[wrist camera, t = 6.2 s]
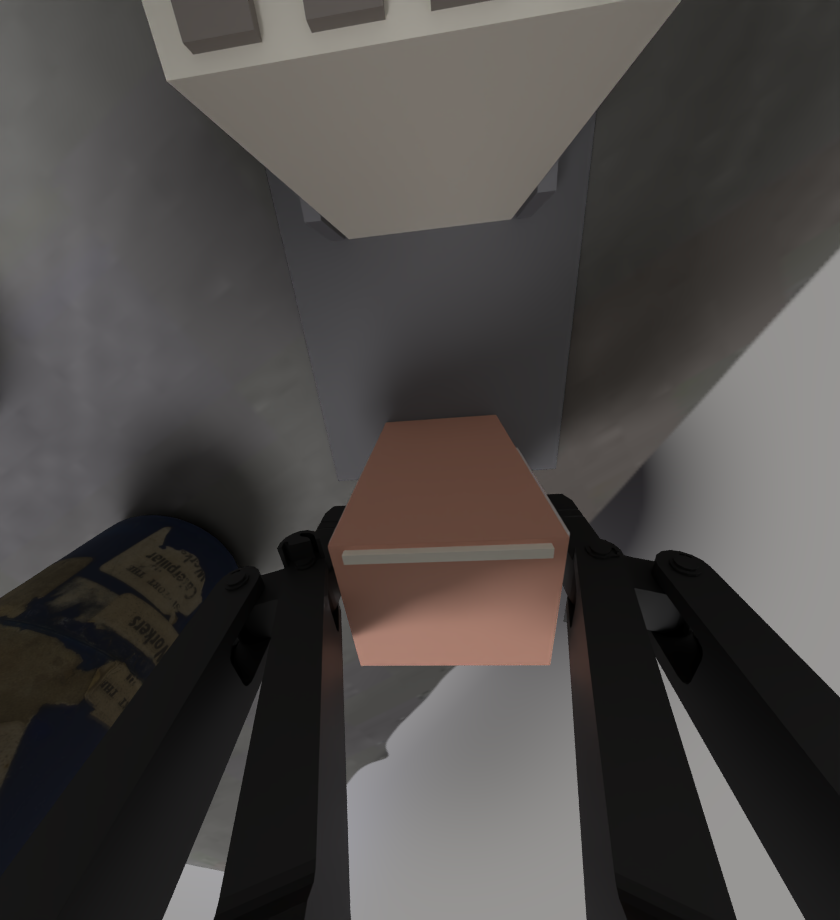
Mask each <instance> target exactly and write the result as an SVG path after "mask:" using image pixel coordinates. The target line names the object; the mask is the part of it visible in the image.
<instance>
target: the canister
mask: <svg viewBox="0 0 840 920" xmlns="http://www.w3.org/2000/svg"><path fill="white" fill-rule="evenodd" d="M236 569H238V567H237V564H236V562H235V560H234V558H233V557H232V555H231V554H230V552H229V551H228V550H227V549H226V548H225V547H224V545H223V544H222V543H221V542H220V541H218V540H217V539H216V538H215V537H214V536H212V535H211V534H209V533H208V532H206V531H205V530H203V529H201V528H200V527H198V526H196V525H193V524H191V523H189V522H186V521H183V520H180V519H177V518H173V517H168V516H159V515H145V516H137V517H133V518H129V519H126V520H123V521H121V522H119V523H117V524H115V525H113V526H111V527H110V528H108V529H106V530H105V531H103V532H102V533H100V534H99V535H97V536H96V537H94V538H93V539H91V540H90V541H88V542H86V543H85V544H83V545H82V546H80V547H79V548H77V549H76V550H74V551H73V552H71V553H70V554H68V555H67V556H65V557H63V558H62V559H60V560H59V561H57V562H55V563H54V564H52V565H50V566H49V567H47V568H46V569H44V570H43V571H41V572H40V573H38V574H37V575H35V576H34V577H32V578H31V579H29V580H28V581H26V582H25V583H23V584H21V585H20V586H18V587H17V588H15V589H13V590H12V591H10V592H9V593H7V594H6V595H4V596H3V597H1V598H0V877H1V875H2V874H3V873H4V871H5V870H6V869H7V867H8V866H9V864H10V863H11V862H12V860H13V859H14V858H15V856H16V855H17V854H18V852H19V851H20V850H21V848H22V847H23V846H24V844H25V843H26V841H27V840H28V839H29V837H30V836H31V835H32V833H33V832H34V831H35V829H36V828H37V827H38V825H39V824H40V822H41V821H42V820H43V818H44V817H45V816H46V814H47V813H48V812H49V810H50V809H51V808H52V806H53V805H54V804H55V802H56V801H57V799H58V798H59V797H60V795H61V794H62V793H63V791H64V790H65V789H66V787H67V786H68V785H69V783H70V782H71V780H72V779H73V778H74V776H75V775H76V774H77V772H78V771H79V770H80V768H81V767H82V766H83V764H84V763H85V761H86V760H87V759H88V757H89V756H90V755H91V753H92V752H93V751H94V749H95V748H96V747H97V745H98V744H99V743H100V741H101V740H102V738H103V737H104V736H105V734H106V733H107V732H108V730H109V729H110V728H111V726H112V725H113V724H114V722H115V721H116V719H117V718H118V717H119V715H120V714H121V713H122V711H123V710H124V709H125V707H126V706H127V705H128V703H129V702H130V701H131V699H132V698H133V696H134V695H135V694H136V692H137V691H138V690H139V688H140V687H141V686H142V684H143V683H144V682H145V680H146V679H147V677H148V676H149V675H150V673H151V672H152V671H153V669H154V668H155V667H156V665H157V664H158V663H159V661H160V660H161V658H162V657H163V656H164V654H165V653H166V652H167V650H168V649H169V648H170V646H171V645H172V644H173V642H174V641H175V640H176V638H177V637H178V635H179V634H180V633H181V631H182V630H183V629H184V627H185V626H186V625H187V623H188V622H189V621H190V619H191V618H192V616H193V615H194V614H195V612H196V611H197V610H198V608H199V607H200V606H201V604H202V603H203V602H204V600H205V599H206V598H207V596H208V595H209V593H210V592H211V591H212V589H213V588H214V587H215V585H216V584H217V583H218V582H219V581H220V580H221V579H222V578H223V577H224V576H225V575H227V574H228V573H230V572H231V571H234V570H236Z"/></svg>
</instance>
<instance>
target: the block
mask: <svg viewBox="0 0 840 920" xmlns="http://www.w3.org/2000/svg"><path fill="white" fill-rule="evenodd" d="M568 544H569V536H568V534H567V533H566V531H565V529H564V527H563V526H562V524H561V522H560V521H559V519H558V517H557V516H556V514H555V512H554V511H553V509H552V507H551V506H550V504H549V502H548V501H547V499H546V497H545V496H544V494H543V492H542V491H541V489H540V487H539V486H538V484H537V482H536V481H535V479H534V477H533V476H532V474H531V472H530V471H529V469H528V467H527V466H526V464H525V462H524V461H523V459H522V457H521V456H520V454H519V452H518V451H517V449H516V447H515V446H514V444H513V442H512V441H511V439H510V437H509V435H508V434H507V432H506V430H505V429H504V427H503V425H502V424H501V422H500V420H499V419H498V417H497V415H484V416H470V417H456V418H442V419H428V420H413V421H399V422H386V424H385V426H384V428H383V430H382V432H381V434H380V436H379V438H378V441H377V443H376V445H375V447H374V449H373V451H372V453H371V455H370V457H369V460H368V462H367V464H366V466H365V468H364V470H363V472H362V474H361V477H360V479H359V481H358V483H357V485H356V487H355V489H354V491H353V494H352V496H351V498H350V500H349V502H348V504H347V506H346V508H345V510H344V513H343V515H342V517H341V519H340V521H339V523H338V525H337V527H336V530H335V532H334V534H333V536H332V538H331V540H330V542H329V544H328V550H329V553H330V557H331V560H332V564H333V568H334V571H335V575H336V578H337V582H338V585H339V589H340V593H341V596H342V600H343V603H344V607H345V610H346V614H347V618H348V621H349V625H350V628H351V632H352V635H353V639H354V643H355V646H356V650H357V653H358V657H359V660H360V664H361V666H423V665H550V662H551V656H552V649H553V643H554V636H555V629H556V622H557V615H558V609H559V603H560V597H561V589H562V583H563V577H564V570H565V564H566V557H567V550H568Z"/></svg>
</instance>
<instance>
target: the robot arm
mask: <svg viewBox="0 0 840 920" xmlns="http://www.w3.org/2000/svg"><path fill="white" fill-rule="evenodd" d="M516 449H517V451H518V452H519V454H520V456H521V457H522V459H523V461H524V462H525V464H526V466H527V467H528V469H529V471H530V472H531V474H532V476H533V477H534V479H535V481H536V482H537V484H538V486H539V487H540V489H541V491H542V492H543V494H544V496H545V497H546V499H547V501H548V502H549V504H550V506H551V507H552V509H553V511H554V512H555V514H556V516H557V517H558V519H559V521H560V522H561V524H562V526H563V527H564V529H565V531H566V533H567V534H568V536H569V544H568V550H567V557H566V564H565V570H564V577H563V583H562V585H563V587H564V589H565V591H566V593H567V595H568V597H567V603H566V609H565V615H564V622H567V629H568V644H569V659H570V674H571V689H572V703H573V719H574V733H575V734H574V735H575V749H576V765H577V780H578V795H579V811H580V826H581V841H582V856H583V871H584V886H585V901H586V917H587V920H737V919H736V916H735V913H734V909H733V906H732V903H731V900H730V897H729V893H728V890H727V887H726V883H725V880H724V877H723V874H722V871H721V867H720V864H719V861H718V858H717V854H716V852H715V848H714V845H713V841H712V839H711V835H710V832H709V829H708V825H707V822H706V819H705V816H704V812H703V809H702V806H701V803H700V799H699V796H698V793H697V790H696V787H695V783H694V780H693V777H692V774H691V770H690V767H689V764H688V761H687V757H686V754H685V751H684V748H683V745H682V741H681V738H680V735H679V732H678V728H677V725H676V722H675V719H674V715H673V712H672V709H671V706H670V703H669V699H668V696H667V693H666V690H665V686H664V683H663V680H662V677H661V673H660V670H659V667H658V664H657V660H658V662H659V664H660V665H661V667H662V669H663V671H664V672H665V674H666V676H667V678H668V679H669V681H670V683H671V685H672V687H673V688H674V690H675V692H676V694H677V695H678V697H679V699H680V701H681V702H682V704H683V706H684V708H685V709H686V711H687V713H688V714H689V716H690V718H691V720H692V722H693V723H694V725H695V727H696V728H697V730H698V732H699V734H700V735H701V737H702V739H703V741H704V742H705V744H706V746H707V748H708V750H709V751H710V753H711V755H712V757H713V758H714V760H715V762H716V764H717V765H718V767H719V769H720V771H721V772H722V774H723V776H724V778H725V779H726V781H727V783H728V785H729V786H730V788H731V790H732V792H733V793H734V795H735V797H736V799H737V800H738V802H739V804H740V805H741V807H742V809H743V811H744V813H745V814H746V816H747V818H748V820H749V821H750V823H751V825H752V827H753V828H754V830H755V832H756V834H757V835H758V837H759V839H760V841H761V843H762V844H763V846H764V848H765V849H766V851H767V853H768V855H769V857H770V858H771V860H772V862H773V864H774V865H775V867H776V869H777V870H778V872H779V874H780V876H781V878H782V879H783V881H784V883H785V884H786V886H787V888H788V890H789V891H790V893H791V895H792V897H793V898H794V900H795V902H796V904H797V906H798V907H799V909H800V911H801V913H802V914H803V916H804V918H805V920H840V697H839V696H838V695H837V694H836V693H835V692H834V691H833V690H832V689H831V688H830V687H829V686H828V685H827V684H826V683H825V682H824V681H823V680H822V679H821V678H820V677H819V676H818V675H817V674H816V673H815V672H814V671H813V670H812V669H811V668H810V667H809V666H808V665H807V664H806V663H805V662H804V661H803V660H802V659H801V658H800V657H799V656H798V655H797V654H796V653H795V652H794V651H793V650H792V649H791V648H790V647H789V646H788V644H787V643H785V641H784V640H782V638H781V637H780V636H779V635H778V634H777V633H776V632H775V631H774V630H773V629H772V628H771V627H770V626H769V625H768V624H767V623H766V622H765V621H764V620H763V619H762V618H761V617H760V616H759V615H758V614H757V613H756V612H755V611H754V610H753V609H752V608H751V607H750V606H749V605H748V604H747V603H746V602H745V601H744V600H743V599H742V598H741V597H740V596H739V595H738V594H737V593H736V592H735V591H734V590H733V589H732V588H731V587H730V586H729V585H728V584H727V583H726V582H725V581H724V580H723V579H722V578H721V577H720V576H719V575H718V574H717V573H716V572H715V571H714V570H713V569H712V568H711V567H710V566H709V565H708V564H706V563H705V562H704V561H703V560H701V559H699V558H697V557H695V556H693V555H690V554H687V553H684V552H681V551H673V550H668V551H661V552H660V553H658V554H657V555H656V558H655V561H649V560H644V559H639V558H633V557H629V556H625V555H623V553H622V551H621V550H620V549H619V548H618V547H617V546H615V545H614V544H612V543H610V542H608V541H606V540H602V539H600V538H599V537H598V535H597V534H596V532H595V531H594V530H593V528H592V527H591V526H590V524H589V523H588V522H587V520H586V519H585V517H583V515H582V513H581V512H580V511H579V510H578V508H577V506H576V505H575V504H574V502H573V501H572V500H571V499H569V498H568V497H566V496H564V495H563V494H548V495H546V493H545V491H544V490H543V488H542V486H541V485H540V483H539V481H538V480H537V478H536V477H535V475H534V473H533V472H532V470H531V468H530V467H529V465H528V464H527V462H526V460H525V459H524V457H523V455H522V454H521V452H520V450H519V449H518V448H516ZM368 460H369V458H368ZM368 460H367V462H368ZM366 464H367V463H366ZM365 466H366V465H365ZM364 468H365V467H364ZM363 470H364V469H363ZM362 472H363V471H362ZM361 474H362V473H361ZM360 477H361V475H360ZM360 477H359V479H360ZM358 481H359V480H358ZM357 483H358V482H357ZM356 485H357V484H356ZM355 487H356V486H355ZM354 489H355V488H354ZM353 491H354V490H353ZM352 494H353V492H352ZM352 494H351V496H352ZM350 498H351V497H350ZM349 500H350V499H349ZM348 502H349V501H348ZM347 504H348V503H347ZM346 506H347V505H346ZM346 506H334V507H333V508H331V509H330V510H329V511H328V512H327V513H325V515H324V517H323V519H322V521H321V523H320V524H319V526H318V528H317V530H316V531H309V530H306V531H299V532H296V533H293V534H291V535H290V536H288V537H286V538H285V539H284V540H283V541H282V542H281V543H280V544H279V546H278V548H277V549H278V552H279V554H280V557H281V560H282V562H283V565H284V569H282V570H279V571H275V572H272V573H268V574H264V575H260V572H259V570H258V569H257V568H255V567H250V566H246V567H242V568H238V569H236V570H234V571H231V572H230V573H228V574H227V575H225V576H224V577H223V578H222V579H221V580H220V581H219V582H218V583H217V584H216V585H215V587H214V588H213V589H212V591H211V592H210V593H209V595H208V596H207V598H206V599H205V600H204V602H203V603H202V604H201V606H200V607H199V608H198V610H197V611H196V612H195V614H194V615H193V616H192V618H191V619H190V621H189V622H188V623H187V625H186V626H185V627H184V629H183V630H182V631H181V633H180V634H179V635H178V637H177V638H176V640H175V641H174V642H173V644H172V645H171V646H170V648H169V649H168V650H167V652H166V653H165V654H164V656H163V657H162V658H161V660H160V661H159V663H158V664H157V665H156V667H155V668H154V669H153V671H152V672H151V673H150V675H149V676H148V677H147V679H146V680H145V682H144V683H143V684H142V686H141V687H140V688H139V690H138V691H137V692H136V694H135V695H134V696H133V698H132V699H131V701H130V702H129V703H128V705H127V706H126V707H125V709H124V710H123V711H122V713H121V714H120V715H119V717H118V718H117V719H116V721H115V722H114V724H113V725H112V726H111V728H110V729H109V730H108V732H107V733H106V734H105V736H104V737H103V738H102V740H101V741H100V743H99V744H98V745H97V747H96V748H95V749H94V751H93V752H92V753H91V755H90V756H89V757H88V759H87V760H86V761H85V763H84V764H83V766H82V767H81V768H80V770H79V771H78V772H77V774H76V775H75V776H74V778H73V779H72V780H71V782H70V783H69V785H68V786H67V787H66V789H65V790H64V791H63V793H62V794H61V795H60V797H59V798H58V799H57V801H56V802H55V804H54V805H53V806H52V808H51V809H50V810H49V812H48V813H47V814H46V816H45V817H44V818H43V820H42V821H41V822H40V824H39V825H38V827H37V828H36V829H35V831H34V832H33V833H32V835H31V836H30V837H29V839H28V840H27V841H26V843H25V844H24V846H23V847H22V848H21V850H20V851H19V852H18V854H17V855H16V856H15V858H14V859H13V860H12V862H11V863H10V864H9V866H8V867H7V869H6V870H5V871H4V873H3V874H2V875H1V877H0V920H162V919H163V916H164V914H165V912H166V909H167V907H168V904H169V902H170V900H171V897H172V895H173V893H174V890H175V888H176V885H177V883H178V881H179V878H180V876H181V873H182V871H183V868H184V866H185V864H186V861H187V859H188V857H189V854H190V852H191V849H192V847H193V845H194V842H195V840H196V837H197V835H198V833H199V830H200V828H201V825H202V823H203V821H204V818H205V816H206V813H207V811H208V809H209V806H210V804H211V801H212V799H213V797H214V794H215V792H216V789H217V787H218V785H219V782H220V780H221V777H222V775H223V773H224V770H225V768H226V765H227V763H228V761H229V758H230V756H231V753H232V751H233V749H234V746H235V744H236V741H237V739H238V737H239V734H240V732H241V729H242V727H243V725H244V722H245V720H246V717H247V715H248V713H249V710H250V708H251V705H252V703H253V701H254V698H255V696H256V693H257V691H258V689H259V686H260V684H261V681H262V684H261V689H260V694H259V699H258V705H257V710H256V715H255V720H254V725H253V730H252V735H251V740H250V745H249V750H248V755H247V760H246V765H245V771H244V776H243V781H242V786H241V791H240V796H239V801H238V806H237V811H236V816H235V821H234V826H233V831H232V836H231V842H230V847H229V852H228V857H227V862H226V867H225V872H224V877H223V882H222V887H221V893H220V898H219V902H218V906H217V910H216V914H215V917H214V920H351V914H350V889H349V888H350V887H349V854H348V822H347V790H346V757H345V724H344V692H343V659H342V627H341V609H340V606H339V603H338V602H339V599H340V596H341V593H340V589H339V585H338V582H337V578H336V575H335V571H334V568H333V564H332V560H331V557H330V553H329V550H328V544H329V542H330V540H331V538H332V536H333V534H334V532H335V530H336V527H337V525H338V523H339V521H340V519H341V517H342V515H343V513H344V510H345V508H346ZM656 658H657V660H656Z"/></svg>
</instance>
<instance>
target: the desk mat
mask: <svg viewBox="0 0 840 920" xmlns="http://www.w3.org/2000/svg"><path fill="white" fill-rule="evenodd" d="M596 112H597V110H596V111H595V112H594V114H593V115H592V116H591V117H590V119H589V120H588V121H587V123H586V124H585V125H584V126H583V128H582V129H581V130H580V132H579V133H578V134H577V135H576V137H575V138H574V139H573V141H572V142H571V143H570V144H569V146H568V147H567V148H566V150H565V151H564V152H563V153H562V155H561V156H560V157H559V161H558V173H557V186H556V191H555V192H554V193H553V194H552V195H551V196H550V197H549V198H548V199H547V200H546V202H545V203H544V204H543V205H542V206H541V207H540V208H539V209H538V210H537V211H536V212H535V213H534V214H533V215H532V216H531V217H526V218H518V219H516V214H515V215H514V216H513V218H512V219H510V220H502V221H494V222H486V223H477V224H469V225H461V226H453V227H445V228H437V229H428V230H420V231H412V232H404V233H396V234H388V235H379V236H371V237H363V238H355V239H348V238H347V237H346V236H345V235H344V240H339V241H330V240H329V239H327V238H326V237H324V236H323V235H321V234H320V233H319V232H317V231H316V230H314V229H313V228H311V227H310V226H309V225H307V224H306V223H305V222H304V217H303V212H302V207H301V202H300V197H299V196H298V195H297V194H296V193H295V192H294V191H293V190H292V189H290V188H289V187H288V186H287V185H286V184H285V183H283V182H282V181H281V180H280V179H279V178H278V177H277V176H275V175H274V174H273V173H272V172H271V171H270V170H268V169H267V168H266V167H265V170H266V174H267V178H268V182H269V187H270V191H271V195H272V200H273V204H274V208H275V212H276V217H277V221H278V225H279V230H280V234H281V238H282V242H283V247H284V251H285V255H286V260H287V264H288V268H289V272H290V277H291V281H292V285H293V290H294V294H295V298H296V302H297V307H298V311H299V315H300V319H301V324H302V328H303V332H304V337H305V341H306V345H307V349H308V354H309V358H310V362H311V367H312V371H313V375H314V379H315V384H316V388H317V392H318V397H319V401H320V405H321V409H322V414H323V418H324V422H325V427H326V431H327V435H328V439H329V444H330V448H331V452H332V457H333V461H334V465H335V469H336V474H337V478H338V481H342V480H359V477H360V475H361V473H362V471H363V469H364V467H365V465H366V463H367V460H368V458H369V457H370V455H371V453H372V451H373V449H374V447H375V445H376V443H377V441H378V438H379V436H380V434H381V432H382V430H383V428H384V426H385V424H386V422H399V421H413V420H428V419H442V418H456V417H470V416H484V415H497V417H498V419H499V420H500V422H501V424H502V425H503V427H504V429H505V430H506V432H507V434H508V435H509V437H510V439H511V441H512V442H513V444H514V446H515V447H516V448H518V449H519V450H520V452H521V454H522V455H523V457H524V459H525V460H526V462H527V464H528V465H529V467H530V468H531V470H542V469H556V463H557V455H558V446H559V437H560V428H561V420H562V411H563V402H564V393H565V384H566V376H567V367H568V358H569V349H570V341H571V332H572V323H573V314H574V305H575V297H576V288H577V279H578V270H579V262H580V253H581V244H582V235H583V226H584V218H585V209H586V200H587V191H588V183H589V174H590V165H591V156H592V147H593V139H594V130H595V121H596Z"/></svg>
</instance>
